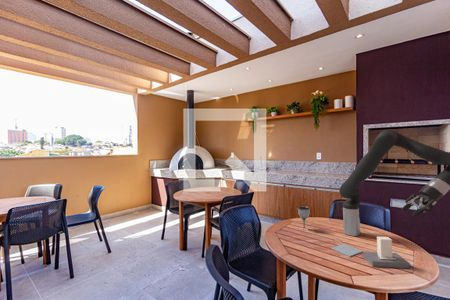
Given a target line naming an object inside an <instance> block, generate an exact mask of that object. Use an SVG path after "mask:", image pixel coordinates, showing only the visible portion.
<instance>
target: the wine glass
mask: <svg viewBox="0 0 450 300" xmlns="http://www.w3.org/2000/svg"><path fill="white" fill-rule="evenodd" d="M310 209H311V208H310V207H308V206H297V212H298V216H299V217H300V218H301V220H302V222H303V226H302V227H303V228H306V227H307V226H305V224H306V220H307V219H308V218H309V216H310Z"/></svg>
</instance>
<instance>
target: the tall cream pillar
mask: <svg viewBox="0 0 450 300" xmlns="http://www.w3.org/2000/svg"><path fill="white" fill-rule="evenodd" d="M376 249H377V250H376V252H377V255H378V257H379V258H392V253H393V239H391V238H390V237H388V236H376Z"/></svg>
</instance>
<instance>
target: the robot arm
mask: <svg viewBox="0 0 450 300" xmlns="http://www.w3.org/2000/svg"><path fill="white" fill-rule="evenodd" d="M372 143H373V144H372V145H371V147H370V148H369V150H368V152H367V153H366V154H365V155H364V156H363V157H362V158H361V159H360V161H359V162H358V164H357V165H356V166H355V168H354V170H352V172H351V173H350V175H349V176H348V178H346V179H345V181H344V182H343V183H342V185H341V186H340V187H339V195H340V196H341V197H342V198H344V199H346V200H345V201H344V202H342V217H343V219H342V220H343V221H342V222H343V224H342V225H343V233H344V234H345V235H346V236H354V237H358V236H360V234H361V219H360V204H361V189H360V187H359V184H361V183H362V182H364V181H366V180H367V179H369V178H370V177H371V176H372V175H373V174H374V172H375V171H376V169H377V168H378V166H380V163H381V160H382V159H383V158H384V157H385V155H386V154H387V153H388V152H389V151H390V150H391V149H392V148H394V146H395V147H398V148H402V149H404V150H407V151H408V152H410V153H412V154H413V155H415V156H417V157H418V158H420V159H423V160H425V161H428V162H431V163H433V164H435V165H445V166H446V167H445V168H444V169H443V170H442V171H441V172H440V173H438V174H437V175H435V176H434V178H432V179H431V180H429V181H428V182H427V183H426V184H425V185H424V186H423V187H422V188H421V189H419V191H418V192H419V194H418V195H417V194H416V193H412V195H410V196H409V197H408V198H407V199H405V200H404V202H405V203H406V204H405V205H404V206H402V207H401V211H403V212H404V213H406V212H408V211H409V210H410V209H411V208H412V207H414V206H415V207H417V206H419V208H417V209H415V211H414V212H412V216H414V217H415V218H418V217H420V216H421V215H422V214H423V213H430V212H432V210H433V209H434V208H436V206H437V205H438V201H439V200H440V199H441V198H443V196H445V195H446V194H447V193H449V191H450V151H449V152H448V151H445V150H443V149H440V148H437V147H434V146H430V145H428V144H425V143H422V142H420V141H416V140H415V139H412V138H410V137H407V136H406V135H403V134H401V133H399V132H398V131H395V130H393V129H384V130H382V131H380V132H379V134H378V135H377V136H376V138H375V139H374V141H373V142H372Z"/></svg>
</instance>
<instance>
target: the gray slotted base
mask: <svg viewBox="0 0 450 300" xmlns="http://www.w3.org/2000/svg"><path fill="white" fill-rule="evenodd" d="M362 257H363V258H364V260H366V261H367V262H368V263H369V264H370V265H371V266H372V267H373V268H374V267H375V268H376V267H377V268H378V267H379V268H396V269H397V268H399V269H410V267H411V265H410V262H409V261H408V260H406V259H405V258H404V257H403V256H402V255H400V254H399V253H397V252H392V258H379V257H378V255H377V251H363V252H362Z"/></svg>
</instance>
